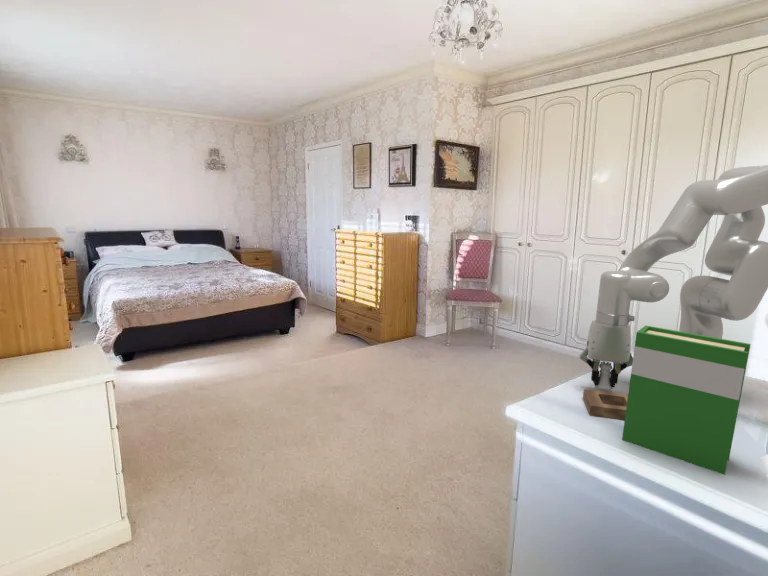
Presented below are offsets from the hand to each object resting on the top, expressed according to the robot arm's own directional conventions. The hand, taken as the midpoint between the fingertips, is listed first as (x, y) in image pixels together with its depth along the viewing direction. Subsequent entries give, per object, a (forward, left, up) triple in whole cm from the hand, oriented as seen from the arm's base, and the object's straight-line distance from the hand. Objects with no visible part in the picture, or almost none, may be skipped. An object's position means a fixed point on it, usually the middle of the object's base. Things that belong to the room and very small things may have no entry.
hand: (603, 383), depth 119 cm
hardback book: (-8, +27, -2) cm, 29 cm away
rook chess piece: (0, 0, -2) cm, 2 cm away
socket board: (-2, +11, -2) cm, 12 cm away
